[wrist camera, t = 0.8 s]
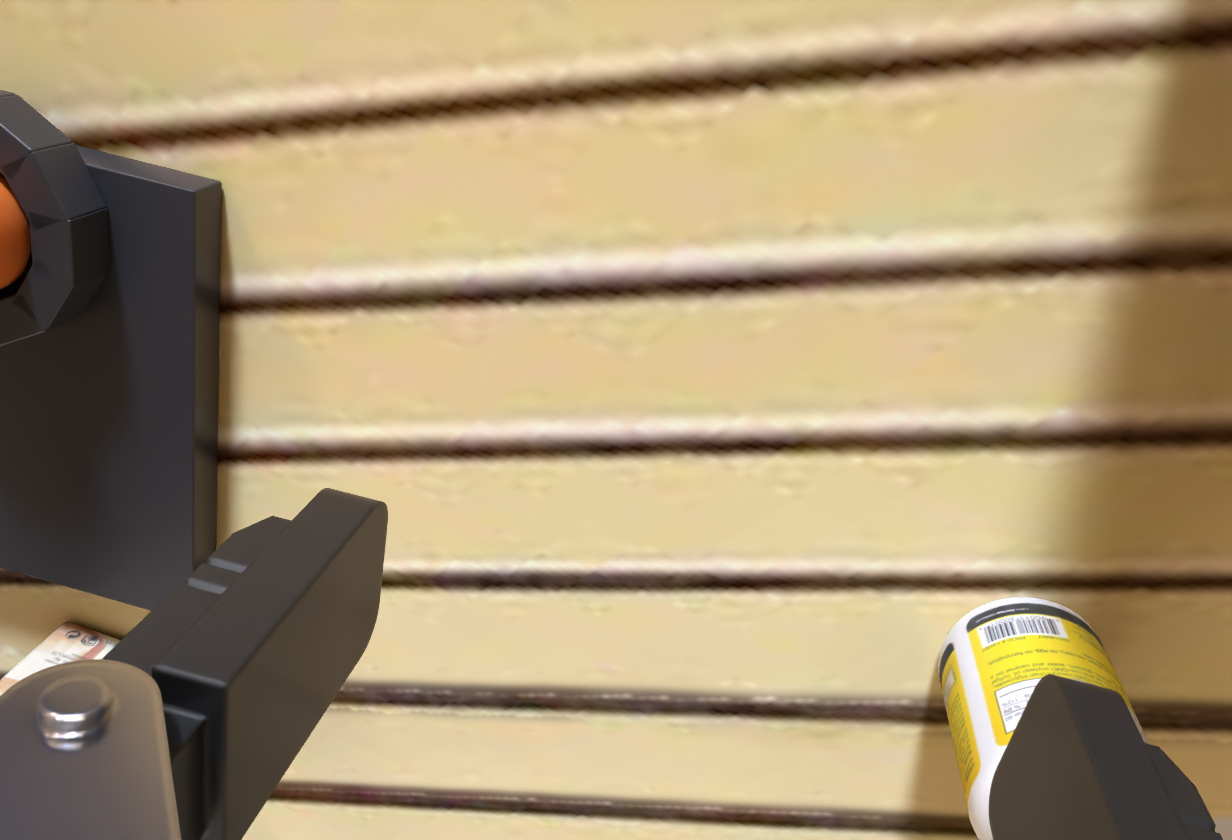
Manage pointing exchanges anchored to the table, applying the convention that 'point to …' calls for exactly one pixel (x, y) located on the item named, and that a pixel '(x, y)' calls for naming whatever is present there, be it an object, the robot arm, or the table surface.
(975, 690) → the supplement bottle
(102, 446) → the black button panel
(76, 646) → the white medicine box
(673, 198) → the table surface
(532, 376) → the table surface
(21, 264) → the button
